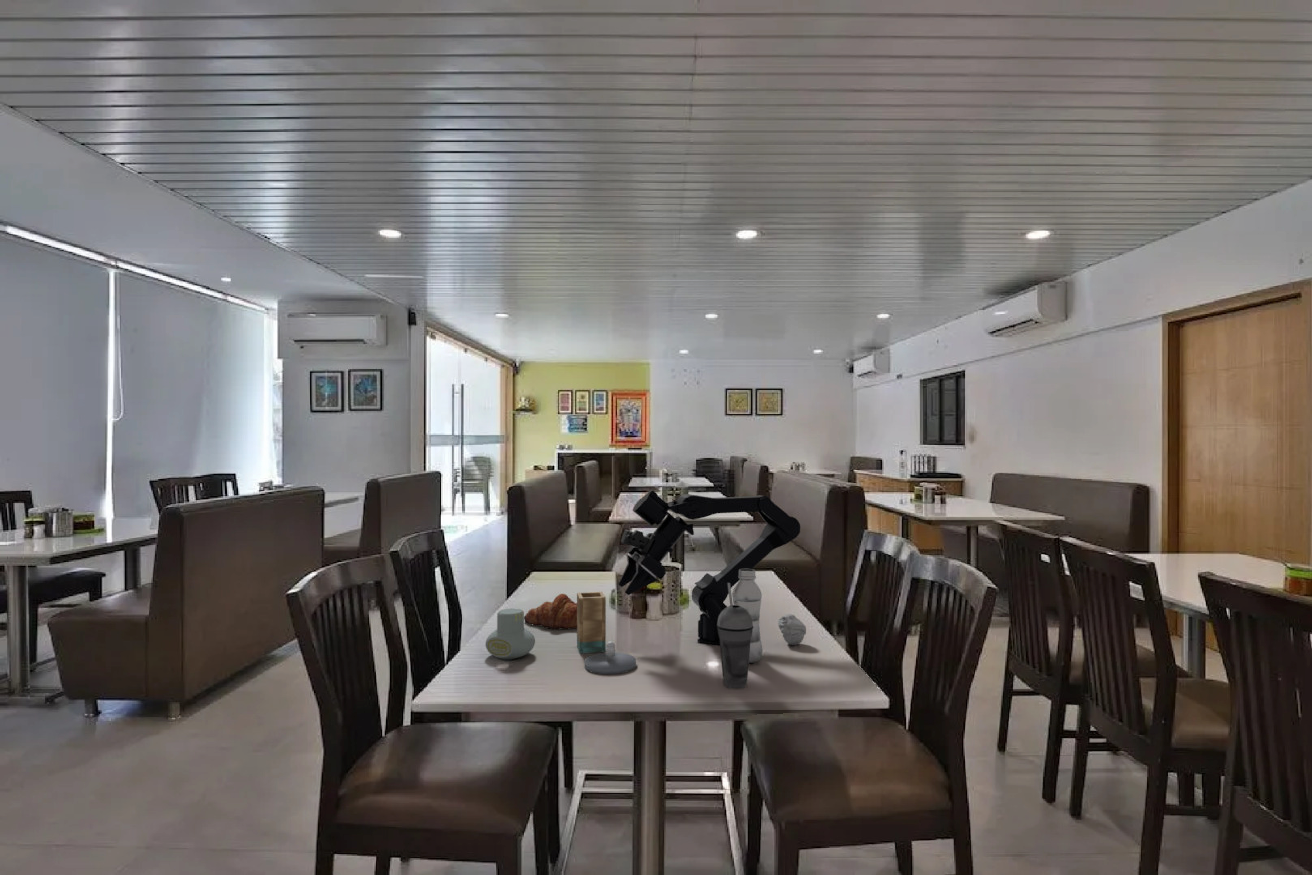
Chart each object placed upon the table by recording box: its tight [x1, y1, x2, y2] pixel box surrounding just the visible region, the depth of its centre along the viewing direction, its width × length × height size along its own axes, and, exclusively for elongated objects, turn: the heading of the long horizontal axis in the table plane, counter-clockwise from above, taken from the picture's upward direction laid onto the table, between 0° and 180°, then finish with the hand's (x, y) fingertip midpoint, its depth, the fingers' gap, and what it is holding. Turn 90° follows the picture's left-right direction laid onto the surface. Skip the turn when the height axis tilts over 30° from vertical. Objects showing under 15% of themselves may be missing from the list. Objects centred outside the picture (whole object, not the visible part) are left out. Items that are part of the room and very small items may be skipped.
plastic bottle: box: [731, 568, 763, 664], centre depth 147 cm, size 6×7×20 cm
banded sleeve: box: [576, 591, 607, 654], centre depth 157 cm, size 6×6×12 cm
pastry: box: [524, 593, 577, 630], centre depth 179 cm, size 17×15×8 cm
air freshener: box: [485, 608, 536, 661], centre depth 152 cm, size 11×8×10 cm
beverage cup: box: [717, 583, 753, 690], centre depth 133 cm, size 7×7×20 cm
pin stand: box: [584, 640, 637, 675], centre depth 144 cm, size 11×11×5 cm
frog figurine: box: [777, 613, 807, 646], centre depth 160 cm, size 6×7×7 cm
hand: (623, 589), depth 158 cm, fingers open, 9 cm apart
